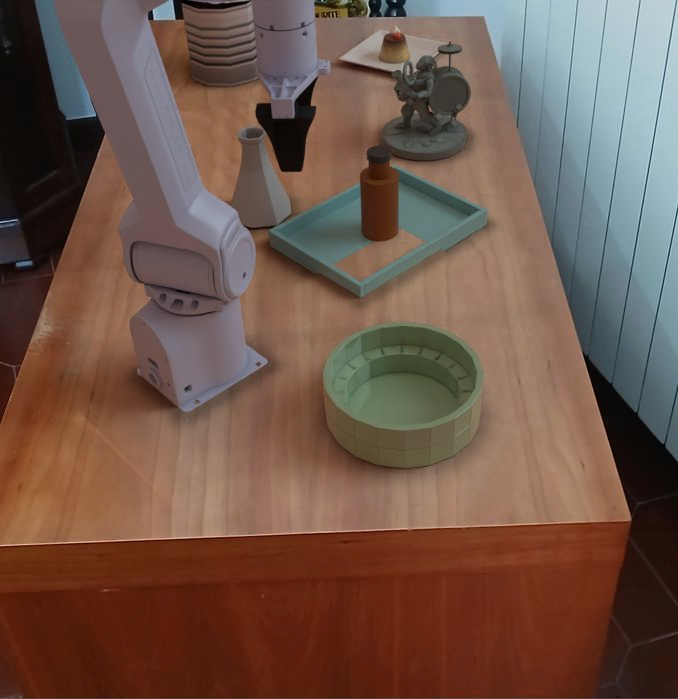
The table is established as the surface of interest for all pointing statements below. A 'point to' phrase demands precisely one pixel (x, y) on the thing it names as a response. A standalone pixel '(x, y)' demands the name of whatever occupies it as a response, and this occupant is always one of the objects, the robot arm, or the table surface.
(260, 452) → the table surface
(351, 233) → the tray
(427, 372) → the bowl
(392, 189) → the brown cylinder
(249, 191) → the flask
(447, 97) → the figurine
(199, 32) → the can
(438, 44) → the dessert
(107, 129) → the robot arm
